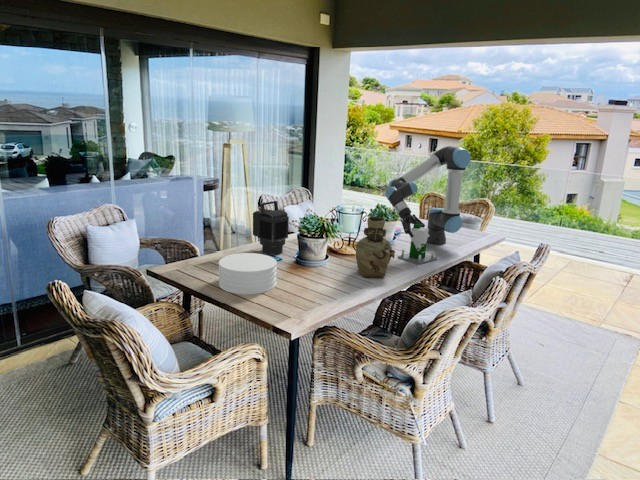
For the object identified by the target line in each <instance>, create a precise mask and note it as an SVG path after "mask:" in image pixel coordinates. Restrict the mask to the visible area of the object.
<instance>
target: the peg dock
mask: <svg viewBox="0 0 640 480" xmlns="http://www.w3.org/2000/svg"><path fill="white" fill-rule="evenodd" d="M409 254H410V252H408V253H405V249H403V248H402V250H401V255H397V256H396V257H397V258H398V259H400V260H403V261H406V262H408V263H412V264H415V265H418V266H419V265H423V264H427V263H430V262H434V261H437V260H438V257H436V256H435V251H431V254H430V255H429V254H425V257H424V258H422V259H421V255H419V258H418V259H415V258H411V257H409Z"/></svg>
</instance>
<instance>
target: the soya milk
mask: <svg viewBox="0 0 640 480" xmlns="http://www.w3.org/2000/svg"><path fill="white" fill-rule="evenodd" d="M411 231H413V233H414V234H415V236H416V237H417V239H418V241H417V242H415V243H414V241H413V240H412V238H411V237H410V248H409V253H410V254H409V257H411V258H415V259H418V258H419V255H421V259H422V258H424V257H425V254H426V253H427V246H428V245H427V237H428V231H429V229H428V228H427V227H426V226H425V227H421V224H413V227H411ZM426 255H427V254H426Z"/></svg>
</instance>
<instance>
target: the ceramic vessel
mask: <svg viewBox="0 0 640 480" xmlns="http://www.w3.org/2000/svg"><path fill="white" fill-rule="evenodd" d="M366 221H367V227H365V228H364V229H363V235H364V237H363V238H361V239H359V240H358V242H357V243H356V246H355V258H356V259H355V261H356V265H357V269H358V273H359V275H361V277H363V278H377V279H380V278H384V277H385V276H386V274H387V269H388V265H389V264H390V261H391V259H393V260H394V259H395V258H396V257H395V256H396V254H395V253H396V251H395V249H393V247H392V244H391V243H390V241H388V240H387V238H385V237H386V236H387V235H386V234H387V230H386V229H384V227H385V223H386V219H385V218H383V217H380V216H379V217H378V216H369V217H367V219H366Z"/></svg>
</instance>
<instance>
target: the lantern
mask: <svg viewBox="0 0 640 480" xmlns="http://www.w3.org/2000/svg"><path fill="white" fill-rule="evenodd" d="M272 204H273V208H274V209H273V210H271V209H267V208H266V209H265V206H267V205H272ZM257 209H258V210H256V211H253V213H252V235H253V236H254V237H257V238H258V239H259V244H260V245H262V246H261V247H262V248H261V252H262V253H263V255H267V256H278V255H281V254H283V251H284V250H283V248H284V247H283V246H285V245H286V239H288V238H289V218H290V217H289V216H288V212H286V211H285V210H281V209H279V204H278V201H277V200H272V201H267V202H262V203H260V204H259V206H258V207H257Z"/></svg>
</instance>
